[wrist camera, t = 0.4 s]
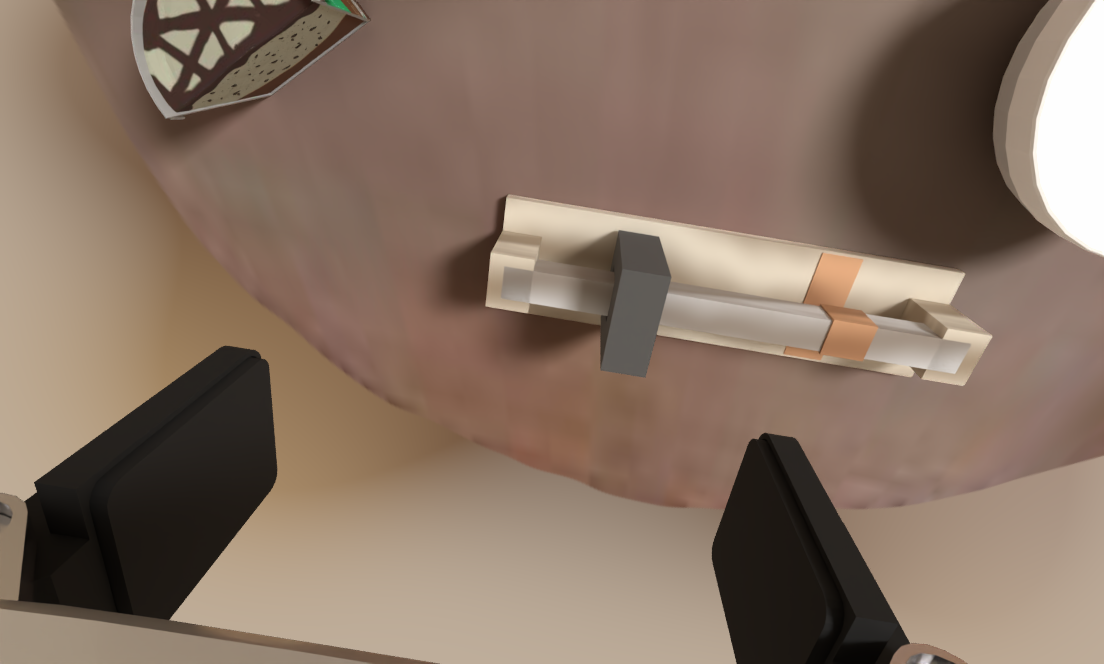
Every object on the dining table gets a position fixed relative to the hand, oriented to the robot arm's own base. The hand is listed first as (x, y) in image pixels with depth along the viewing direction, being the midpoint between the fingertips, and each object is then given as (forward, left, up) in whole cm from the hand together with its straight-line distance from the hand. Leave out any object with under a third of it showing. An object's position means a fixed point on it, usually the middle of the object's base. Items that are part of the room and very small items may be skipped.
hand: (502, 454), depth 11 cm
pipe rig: (+8, +13, -33) cm, 36 cm away
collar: (+8, +6, -32) cm, 33 cm away
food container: (-6, -20, -33) cm, 40 cm away
